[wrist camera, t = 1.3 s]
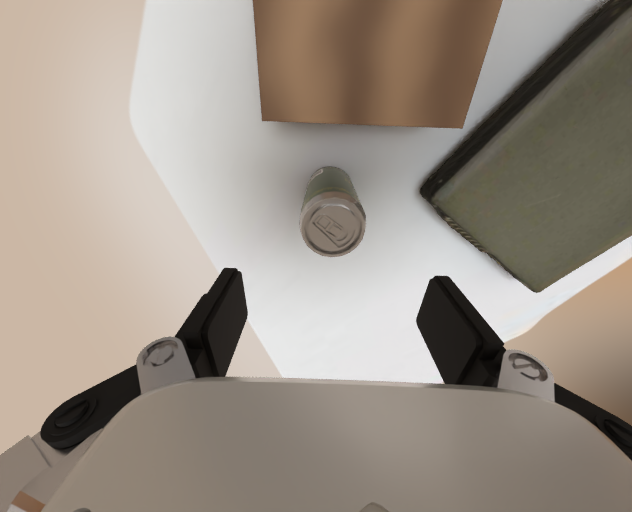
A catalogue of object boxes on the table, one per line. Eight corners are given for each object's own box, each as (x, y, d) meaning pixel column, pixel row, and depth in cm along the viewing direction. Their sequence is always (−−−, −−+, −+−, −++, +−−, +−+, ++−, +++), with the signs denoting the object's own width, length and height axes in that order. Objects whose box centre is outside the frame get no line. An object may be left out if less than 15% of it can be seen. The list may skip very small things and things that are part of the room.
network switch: (400, 206, 29) (413, 222, 25) (591, -37, 19) (671, -83, 14) (522, 281, 35) (550, 304, 31) (725, 125, 24) (812, 127, 20)
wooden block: (481, -90, 17) (565, -201, 11) (428, 125, 24) (462, 128, 18) (267, -97, 17) (237, -211, 11) (277, 120, 25) (262, 121, 18)
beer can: (298, 192, 28) (284, 235, 18) (325, 155, 26) (327, 179, 16) (332, 218, 30) (337, 270, 20) (360, 184, 28) (383, 223, 17)
